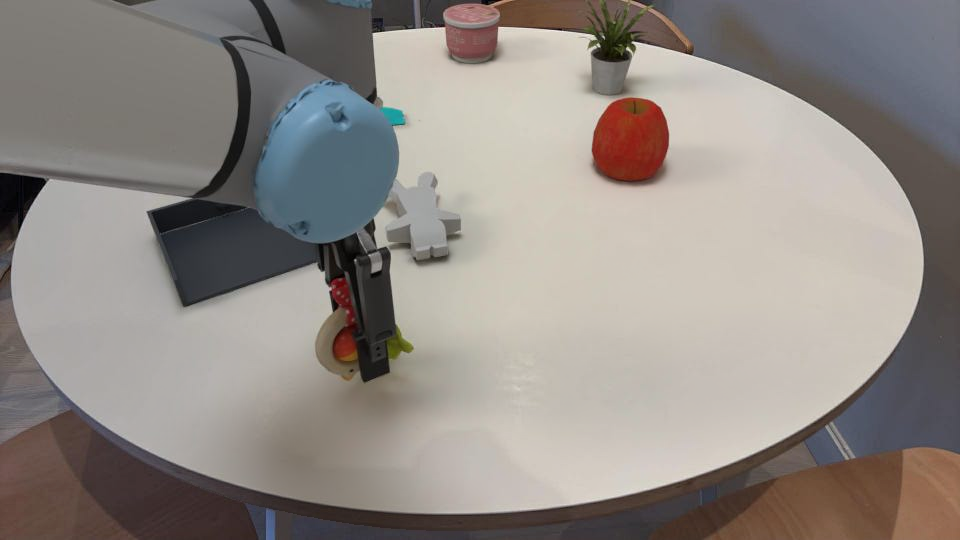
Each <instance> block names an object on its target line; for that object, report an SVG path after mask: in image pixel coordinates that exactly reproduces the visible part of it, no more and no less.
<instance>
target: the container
mask: <svg viewBox="0 0 960 540" xmlns="http://www.w3.org/2000/svg"><path fill="white" fill-rule="evenodd" d="M442 15H443V17H442V18H443V21H444V30H445V31H444V32H445V44H446V47H447V49H448V52H449V53H450V54H451V56H452V57H451V58H453V59H454V60H456V61H457V62H460V63H465V64H479V63H483V62H486V61H488V60H490V59H491V58H492V56H493V55H492V54H494V53H495V51H496V48H497V46H498V40H499V21H500V18H501V12H500V11H499V9H497V8H496V7H494V6H492V5H488V4H483V3H461V4H457V5H452V6H450V7H448V8H446V9H445V10H444V12H443V14H442Z"/></svg>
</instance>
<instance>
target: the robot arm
mask: <svg viewBox="0 0 960 540" xmlns="http://www.w3.org/2000/svg"><path fill="white" fill-rule="evenodd" d="M372 9H373V1H372V0H151V1H146V2H141V3H136V4H132V5H127V4H124V3H122V2H118V1H115V0H0V173H4V174H11V175H19V176H26V177H33V178H41V179H48V180H54V181H62V182H68V183H69V182H71V183H77V184H83V185H84V184H85V185H90V186H91V185H92V186H100V187H106V188H113V189H123V190H129V191H137V192H144V193H151V194H157V195H164V196H165V195H166V196H172V197H173V196H174V197H179V198H187V199H192V198H194V199H201V200H207V201H213V202H219V203H225V204H232V205H240V206H245V207H249V208H252V209H254V210H257V211H258V213H259V214H260V216H261V217H262V218H263V219H264V220H265V221H266V222H267V223H269V224H271V225H273V226H275V227H276V228H280V229H283V230H285V231H286V232H288V233H289V234H291V235H292V236H294V237H295V238H298V239H300V240H303V241H307V242H311V243H314V245H315V251H316V257H317V262H316V263H317V265H316V266H317V269H318V270H319V271H320V272H321V273H323V272H324V282H325V285H326V286H327V287H328V288H330V290H329V291H328V293H329V299H330V305H331V311H332V313H333V312H334V311H336V310H337V309H338V307H339V304H338V303H337V302H336V301H335V299H334V298H333V296H332V293H333V292H332V289H331V283H332V282H333V281H334V280H335V279H341V278H345V277H346V281H347V285H348V289H349V293H350V297H351V302H352V306H353V310H354V314H355V318H356V323H357V324H355V325H357V327H358V328H356V329H354V331H353V332H350V333H351V336H352V338H353V340H354V341H356V347H357V354H358V361H359V367H360V371H359V373H360V379H361V380H362V382H363V383H364V384H366V383H368V382H371V381H373V380H375V379H379V378H380V377H383V376H385V375H387V374H391V370H390V369H391V368H390V359H389V358H388V349H387V339H390V338H392V337H395V336H396V335H397V333H396V325H397V324H396V315H395V307H394V297H393V288H392V278H391V262H392V253H391V251H390V249H389V248H388V246H382V247H379V248H378V246H377V240H376V237H375V236H376V235H375V233H376V223H375V218H376V216H377V215H378V213H379V212H381V210H382V209H383V207H384V205H385V204H386V203H387V201H388V199H389V197H388V196H389V192H390V190H391V189H392V187H393V182H394V180H395V179H396V178H397V176H398V172H399V165H400V147H399V142H398V137H397V134H396V131H395V129H394V127H393V125H391V123H390V122H389V120H388V118H387V117H386V116H385V115H384V114H383V112H382V111H381V110H379V109H381V108H382V107H384V101H383V98H381V97H380V96H378V88H377V73H376V71H377V70H376V60H375V46H374V35H373V34H374V33H373V19H372V18H373V17H372Z"/></svg>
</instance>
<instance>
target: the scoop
mask: <svg viewBox="0 0 960 540" xmlns="http://www.w3.org/2000/svg"><path fill="white" fill-rule="evenodd" d="M146 215H147V217H148V219H149V222H150V223H149V224H150V226H151V228H152V230H153V233H154V235H155V238H156V241H157V244H158V247H159V249H160V251H161V253H162V257H163V259H164V262H165V264H166V267H167V269H168V271H169V274H170V276H171V279H172V282H173V285H174V287H175V289H176V292H177V294H178V297H179V300H180V302H181V305H182V307H183V308H184V307H187V306H190V305H194V304H197V303H200V302H202V301H206V300H208V299H211V298H215V297H217V296H220V295H223V294H226V293H229V292H231V291H234V290H238V289H241V288H244V287H246V286H249V285H252V284H256V283H258V282H261V281H264V280H268V279H270V278H273V277H275V276H278V275H282V274H285V273H287V272H290V271H293V270H297V269H299V268H302V267H305V266H308V265H311V264H315V263H317V257H316V251H315V245H314V243H311V242H307V241H303V240H300V239H298V238H295V237H294V236H292V235H291V234H289V233H288V232H286V231H285V230H283V229H280V228H276V227H275V226H273V225H271V224H269V223H267V222H266V221H265V220H264V219H263V218H262V217H261V216H260V214H259V213H258V211H257V210H254V209H252V208H249V207H245V206H240V205H232V204H225V203H219V202H213V201H207V200H201V199H194V198H187V199H184V200H181V201H178V202H175V203H169V204H167V205H164V206H160V207H157V208H153V209H150V210H146Z"/></svg>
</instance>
